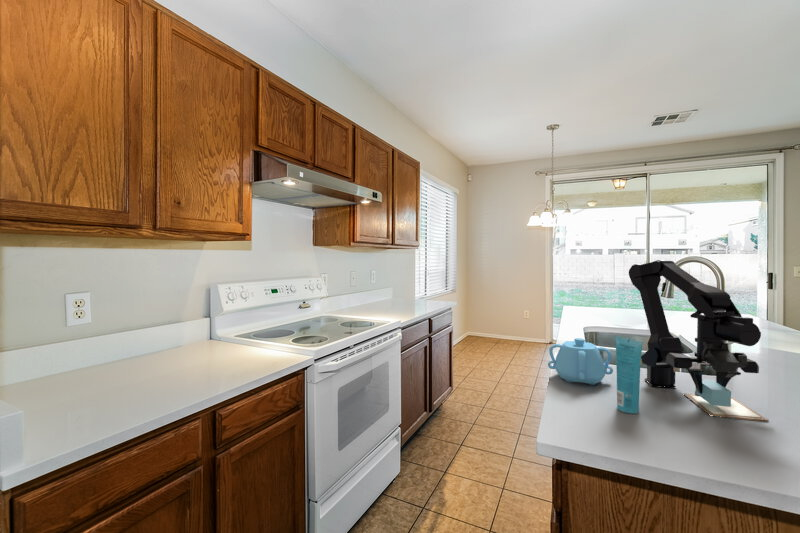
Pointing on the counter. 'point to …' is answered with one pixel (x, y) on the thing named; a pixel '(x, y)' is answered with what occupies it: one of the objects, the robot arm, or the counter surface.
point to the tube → (628, 373)
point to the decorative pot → (580, 362)
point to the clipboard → (727, 409)
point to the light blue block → (715, 393)
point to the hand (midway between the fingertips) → (709, 393)
